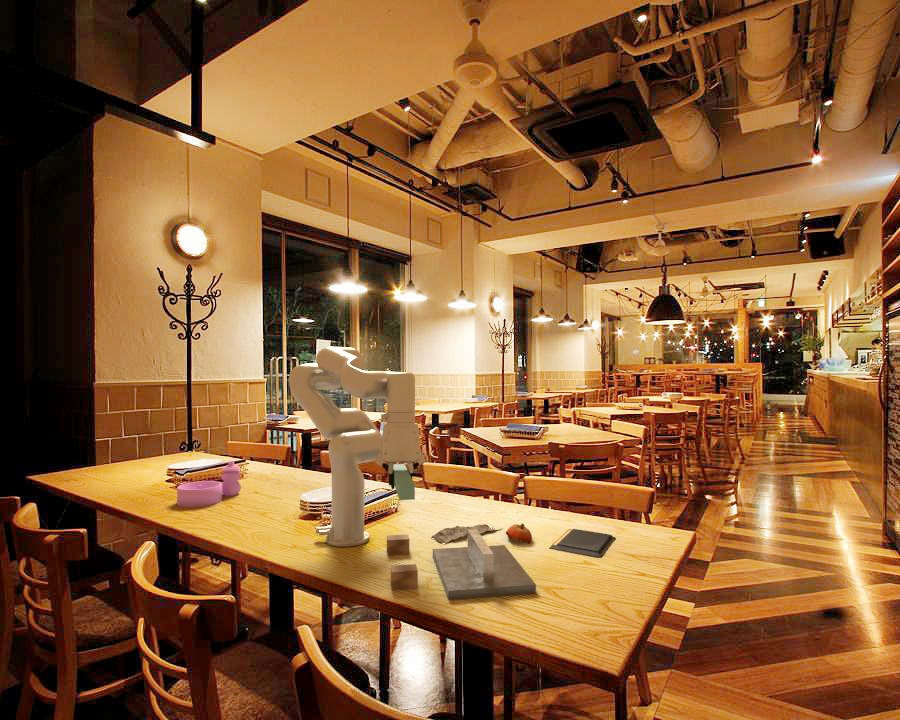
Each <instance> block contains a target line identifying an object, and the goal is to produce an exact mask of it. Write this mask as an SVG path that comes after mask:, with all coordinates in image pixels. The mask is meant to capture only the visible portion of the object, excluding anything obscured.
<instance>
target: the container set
mask: <svg viewBox="0 0 900 720" xmlns="http://www.w3.org/2000/svg"><path fill="white" fill-rule="evenodd" d="M227 463H228V464H227V465H225V466H223V467H222V469H221V471H222V473H221V480H222V481H223V482H221V481H217V480H216V481H215V480H204V481H203V480H201V481H193V482H187V483H183V484H179V485H178V486H177V488H176V506H179V507H181V508H201V507H207V506H213V505H215V504H218V503H220V502H222V501H223V496H226V497H230V496H232V497H233V496H236V495H239V493H240V492H241V489H242V485H241V483H240V481H239V480H240V479H241V477H242V473H241V472H240V470H241V467H240V466H239V465H237V464H235V461H232V460H231V461H228V462H227Z"/></svg>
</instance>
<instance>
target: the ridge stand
mask: <svg viewBox="0 0 900 720" xmlns="http://www.w3.org/2000/svg"><path fill="white" fill-rule="evenodd" d="M432 559H433V561H434V565H435V564H436V565H435V567H436V569H437V572H438V576H439V578H440V580H441V583H442V587H443V589H444V592H445V595H446V597H447V600H448V601H453V600H454V599H456V600H467V598H470V599H481V598H482V597H483V598H495V597H494V596H497V597H506V596H509V597H510V595H511V596H522V595H533V594H534V595H535V594H537V584H536V583H535V582H534V580H533V579H532V578H531V576H530V575H529V574H528V573H527V571H526V570H525V569H524V568H523V566H522V565H521V564H520V563H519V562H518V560H517V559H516V558H515V556H514V555H513V554H512V553H511V552H510V550H509V549H508V547H506V545H504V544H499V545H497V544H496V545H488V544H487V542H486V541H485V539H484V538H483V536H482V535H481V533H480V534H479V532H478V531H477V529H472V530H468V534H467V546H466V547H465V546H464V547H463V546H461V547H446V548H432Z"/></svg>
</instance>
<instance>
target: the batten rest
mask: <svg viewBox="0 0 900 720" xmlns="http://www.w3.org/2000/svg"><path fill="white" fill-rule="evenodd" d="M386 554H387V556H394V555H395V554H398V555H410V536H409V534H390V535H389V534H388V535H386ZM395 556H396V555H395ZM418 570H419V569H418V566H417V564H416V563H415V564H413V563H412V564H411V563H410V564H396V565H393V564H392V565H390V590H391V591H398V590H409V589H410V590H411V589H412V590H413V589H418V586H419V585H418V584H419V583H418V582H419V581H418V578H419V577H418V576H419V574H418V573H419V571H418Z"/></svg>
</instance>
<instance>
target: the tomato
mask: <svg viewBox="0 0 900 720" xmlns="http://www.w3.org/2000/svg"><path fill="white" fill-rule="evenodd" d="M505 534H506V536H507V538H508V537H509V538H508V540H509V541H510V540H515V541H519V542H520V541H521V542H525V543H527V544H531V542H532V541H533V535H532V532H531V531H530V530H529V528H528V527H526V526H525V524H524V523H520V524H519V523H516V524H512V525H511V526H509V527H508V528H507V530H506V531H505Z"/></svg>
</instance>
